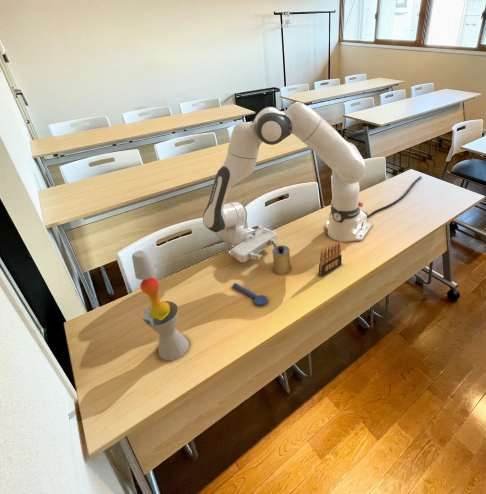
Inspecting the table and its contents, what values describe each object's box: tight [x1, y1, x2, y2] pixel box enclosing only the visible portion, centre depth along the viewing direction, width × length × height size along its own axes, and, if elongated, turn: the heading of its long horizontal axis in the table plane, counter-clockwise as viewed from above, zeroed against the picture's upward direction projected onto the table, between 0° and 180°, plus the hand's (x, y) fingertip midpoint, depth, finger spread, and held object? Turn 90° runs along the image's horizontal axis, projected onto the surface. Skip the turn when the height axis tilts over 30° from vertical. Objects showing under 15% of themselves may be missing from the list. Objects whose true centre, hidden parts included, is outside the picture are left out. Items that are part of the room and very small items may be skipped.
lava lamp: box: [131, 250, 190, 361], centre depth 90 cm, size 9×9×35 cm
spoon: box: [232, 282, 268, 307], centre depth 118 cm, size 16×4×1 cm, turn 52°
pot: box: [271, 244, 291, 275], centre depth 127 cm, size 7×7×10 cm
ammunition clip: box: [318, 239, 343, 277], centre depth 126 cm, size 11×2×12 cm, turn 131°
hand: (269, 252), depth 130 cm, fingers open, 8 cm apart
